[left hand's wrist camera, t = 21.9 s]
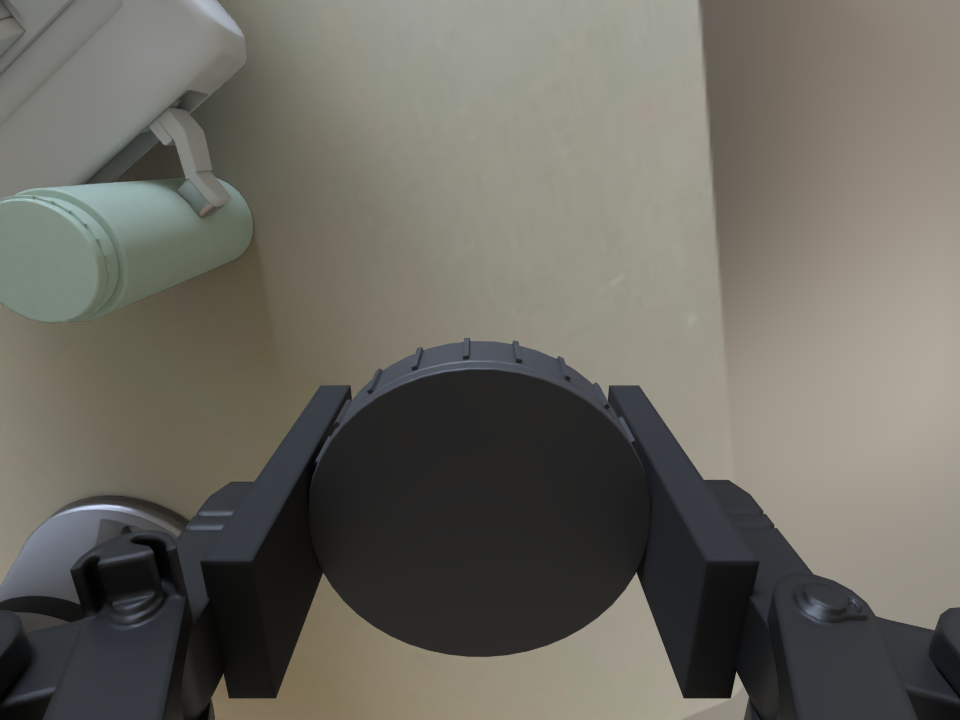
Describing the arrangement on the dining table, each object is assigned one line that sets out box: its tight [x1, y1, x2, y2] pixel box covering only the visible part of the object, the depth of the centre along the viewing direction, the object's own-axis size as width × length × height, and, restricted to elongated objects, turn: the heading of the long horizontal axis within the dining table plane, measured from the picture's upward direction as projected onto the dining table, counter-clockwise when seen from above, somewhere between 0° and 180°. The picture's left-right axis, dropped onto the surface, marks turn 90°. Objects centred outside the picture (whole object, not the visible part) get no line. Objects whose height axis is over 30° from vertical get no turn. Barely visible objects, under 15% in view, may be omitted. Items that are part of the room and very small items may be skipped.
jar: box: [0, 177, 253, 323], centre depth 29 cm, size 6×6×15 cm
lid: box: [308, 338, 651, 657], centre depth 11 cm, size 7×7×2 cm
